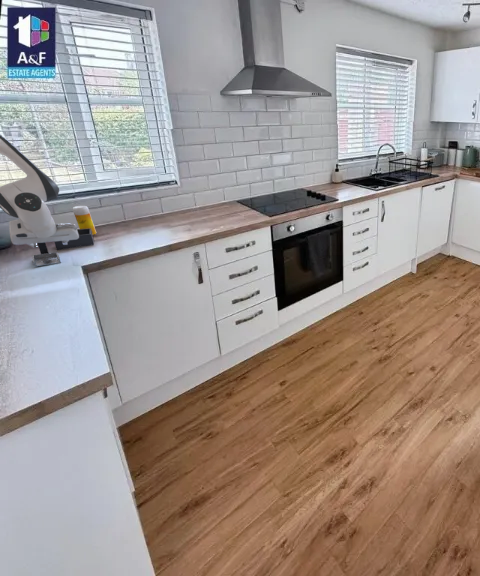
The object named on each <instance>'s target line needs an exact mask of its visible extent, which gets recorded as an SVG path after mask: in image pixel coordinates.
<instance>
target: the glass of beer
mask: <svg viewBox="0 0 480 576" xmlns="http://www.w3.org/2000/svg"><path fill="white" fill-rule="evenodd" d="M72 212H73V215H74V217H75V220H76V223H77V226H78V229H89V228H91V230H92V234H93V236H95V235H96V233H97V231H96V227H95V224H94V221H93V218H92V215H91V212H90V209H89V207H88V206H87V205H75V206H73V207H72ZM94 234H95V235H94Z"/></svg>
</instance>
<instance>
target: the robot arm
mask: <svg viewBox="0 0 480 576" xmlns="http://www.w3.org/2000/svg"><path fill="white" fill-rule="evenodd" d="M0 154H1V155H3V156H4V157H6V158H7V159H9V160H10V161H11V162H12V163H13V164H14V165H15V166H16V167H18V168H19V169H20V170H21V171H22V172H23V173H24V174H25V175H26V176H25V177H23V178H21V179H18V180H15V181H12V182H9V183H6V184H2V185H0V209H1V210H2V211H3V212H4V213H5V214H7V215H8V216H10V217H13V218H16V219H13V220H10V221H9V222H8V227H9V236H10V237H9V238H10V241H11V244H13V245H15V246H20V245H22V246H23V245H27V246H30V247H32V248H33V249H36V248H39V246H38V243H43V242H45V243H52V242H54V241H62V244H63V245H67V242H68V241H69V240H75V239H78V238H79V234H78V231H77V229H78V227H77V226H78V225H76V224H73V223H56V222H55V220H54V218H53V216H52V213H51V211H50V209H49V207H48V205H47V204H46V202H49V201H54V200H56V199H57V198H58V196H59V194H60V187H59V186H58V184H57V182H55V181H54V179H52V178H51V177H50V176H48V175H47V174H46V173H45V172H43V170H41V169H40V168H39V167H38V166H37V165H36V164H35V163H33V162H32V161H31V160H30V159H29V158H28V157H27V156H26V155H25V154H23V152H21V151H20V149H18V148H17V147H16V146H15V145H14V144H13V143H12V142H10V141H9V140H8V139H7V138H6V137H5V136H3V135H2V134H0ZM54 243H55V242H54Z"/></svg>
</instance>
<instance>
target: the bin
mask: <svg viewBox="0 0 480 576" xmlns="http://www.w3.org/2000/svg"><path fill="white" fill-rule="evenodd" d="M77 231H78V234H79V238H78V239H75V240H69V241H68V242H67V245H63V244H62V241H54V245H55V248H56V249H55V250H56V251H63V250H69V249H75V248H76V249H77V248H82V247H89V246H94V245H95V238H94V235H93V234H92V230H91V228H89V229H79V228H77Z"/></svg>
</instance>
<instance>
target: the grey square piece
mask: <svg viewBox="0 0 480 576" xmlns="http://www.w3.org/2000/svg"><path fill="white" fill-rule="evenodd" d="M37 246H38V249H39V252H40V253H37V254H32V255H31V259H32V264H33V266H34V268H35V267H43V266H48V265H57V264H62V261H61V257H60V256H59V252H58V251H55V252H49V250H48V247H47V242H43V243H37Z"/></svg>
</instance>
